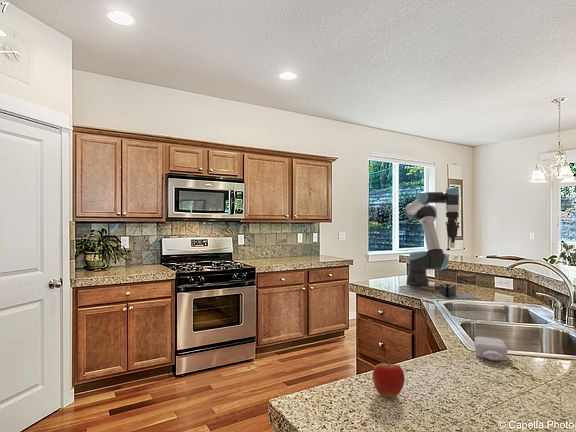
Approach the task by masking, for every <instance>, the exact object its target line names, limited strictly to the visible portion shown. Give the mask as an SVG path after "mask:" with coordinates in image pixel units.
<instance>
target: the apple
mask: <svg viewBox="0 0 576 432" xmlns="http://www.w3.org/2000/svg"><path fill="white" fill-rule="evenodd" d="M387 358H388V360H390V356H387ZM372 371H373V372H372V381H373V382H372V383H373V384H374V388H375V389H376V391H377V393H378V394H379V395H381V396H382V397H383V398H387V399H391V398H395V397H396V396H398V395H399V394H400V393H401V392H402V389H403V387H404V385H405V374H404V370H403V369H402V367H401V366H400V365H399V364H392V363H384V362H382V363H378V364H376V366H375V367H374V368H373V370H372Z"/></svg>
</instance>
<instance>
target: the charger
mask: <svg viewBox="0 0 576 432" xmlns="http://www.w3.org/2000/svg"><path fill="white" fill-rule="evenodd" d="M473 343H474V346H473V347H474V352H475V355H476V357H478V358H482V359H488V360H491V361H504V362H505V361H506V362H507V360H508V348H507V346H506V344H505V342H504V340H503V339H500V338H494V337H486V336H475V337H474V342H473Z"/></svg>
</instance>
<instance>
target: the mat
mask: <svg viewBox="0 0 576 432" xmlns="http://www.w3.org/2000/svg"><path fill="white" fill-rule="evenodd" d="M433 296H435V297H438V298H439V299H442V300H480V298H479V297H477V296H475V295H471V294H469V293H467V294H466V293H463V294H462V293H456V295H453V296H451V297H449V298H448V296H447V297H445V296H444V295H442V294H441V293H436V294H435V293H434V294H433Z"/></svg>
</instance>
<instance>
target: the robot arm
mask: <svg viewBox="0 0 576 432" xmlns="http://www.w3.org/2000/svg"><path fill="white" fill-rule="evenodd" d="M459 194H460V192H459V188H458V187H448V188H446V190H445V191H419V192H418V193H417V196H416V197H417V198H416V199H415V200H413V201H412V202H411V203H408V204H407V205H406V206H404V209H403V212H404V214H405V216H406V217H407V218H409V219H410V220H418V222H419V223H420V224H421V226H422V230H423V234H424V239H425V244H426V248H427V251H425V250H422V251H421V250H419V251H413V252H410V253H409V255H408V274H407V277H406V285H410V286H418V287H420V286H421V287H422V286H423V287H426V286H429V284H430V282H429V278H428V275H427V270H428V271H429V270H432V271H434V270H438V271H440V270H445V269H447V267H448V263H449V256H448V254H447V253H444V250H443V249H442V248H441V247H440V243H439V239H438V238H439V237H438V234H437V230H436V226H435V221H436V219H437V215H438V214H437V213H438V211H437V208H436V207H435V206H434V205H432V204H445V217H446V218H447V221H445V224H446V235H447V237H448V238H449V240H448V241H449V242H448V243H449V249H455V247H456V246H455V244H456V242H455V239H456V238H457V236H458V230H459V225H460V222H459V221H458V219H457V218H459V211H460V210H459V207H460V205H459V203H460V202H459V201H460V197H459V196H460V195H459Z"/></svg>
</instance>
